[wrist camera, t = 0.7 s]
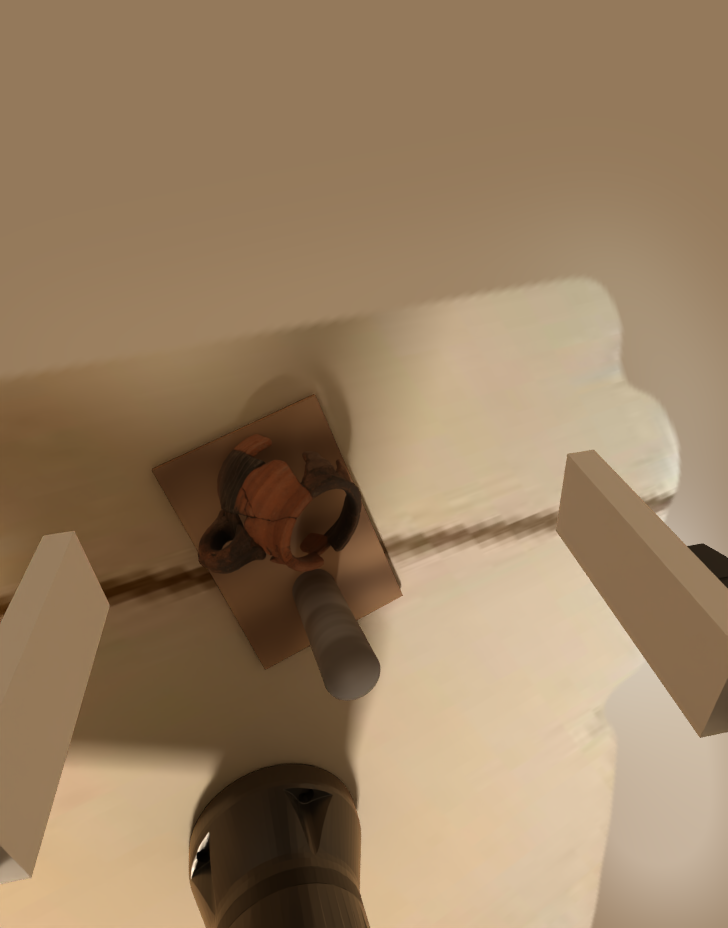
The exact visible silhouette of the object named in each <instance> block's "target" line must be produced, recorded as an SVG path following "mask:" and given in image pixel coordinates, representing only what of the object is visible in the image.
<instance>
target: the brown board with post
mask: <svg viewBox="0 0 728 928" xmlns="http://www.w3.org/2000/svg"><path fill="white" fill-rule="evenodd" d="M254 434H259V435H261V436H263V437H267V438H269V439H270V440H271V441H272V445H271V446H269V447H268V448H266V449H264V450H262V451H261V452H259V453H258V454H257V455H256V456H254V458H256V459H259V460H262V461H264V462H265V463H266V464H267V463H268V462H271V461H273V460H281V461H283V462H286V463H287V464H288V466H289V468H290V469H291V470H292V472H293V474H294V475H295V476H296V477H297V479H298V481H299V482H300V483H301V482H302V478H303V476H304V471H305V464H306V462H305V461H304V459H303V457H302V453H303V452H306V451H315V452H318V453H319V454H320V455H321V457H322V458H324V459H326V460H328V461H329V462H330V463H331V464H332V465H333V466H334V468H335V470H336V469H337V465H336V460H337V459H340V460H341V462H342V463H343V465H344V466H345V468H346V470H347V472H348V475H349V477H350V480H351V482H353V480H352V478H351V476H350V473H349V471H348V469H347V467H346V464H345V462H344V460H343V457H342V455H341V453H340V450H339V448H338V446H337V444H336V441H335V439H334V437H333V434H332V432H331V430H330V428H329V425H328V423H327V421H326V418H325V416H324V414H323V411H322V409H321V407H320V405H319V402H318V400H317V398H316V395H314V394H313V395H311V396H309V397H307V398H305V399H303V400H300V401H298V402H296V403H294V404H292V405H290V406H287V407H285V408H283V409H281V410H279V411H277V412H274V413H272V414H270V415H268V416H266V417H264V418H261V419H259V420H257V421H255V422H253V423H251V424H248V425H246V426H244V427H242V428H240V429H238V430H235V431H233V432H231V433H229V434H227V435H225V436H222V437H220V438H218V439H216V440H214V441H212V442H209V443H207V444H205V445H203V446H201V447H199V448H196V449H194V450H192V451H190V452H188V453H186V454H183V455H181V456H179V457H177V458H175V459H173V460H170V461H168V462H166V463H164V464H162V465H160V466H157V467H155V468H153V469H152V472H153V473H154V475H155V477H156V479H157V480H158V482H159V484H160V486H161V487H162V489H163V491H164V493H165V495H166V496H167V498H168V500H169V502H170V503H171V505H172V507H173V509H174V510H175V512H176V514H177V516H178V517H179V519H180V521H181V523H182V524H183V526H184V528H185V530H186V531H187V533H188V535H189V537H190V538H191V540H192V542H193V544H194V546H195V547H196V549H197V551H198V549H199V542H200V539H201V537H202V535H203V534H204V532H205V531H206V530H207V528H208V527H210V525H211V524H212V523H213V522H214V521H215V519H216V518H217V517H218V515H219V512H220V511H221V510H222V509H221V505H220V500H219V496H218V492H217V478H218V474H219V471H220V469H221V466H222V464H223V462H224V460H225V459H226V458H227V456H228V455H229V453H230V452H231V451H232V450H233V449H234V448H235V447H236V446H237V445H238V444H239V443H241V442H242V441H243V440H245V439H246V438H248V437H250V436H252V435H254ZM345 496H346V493H345V491H344V490H342V489H332V490H328V491H326V492H324V493H322V494H320V495H319V496H317V497H315V498H314V499H313V500H312V501H311V502H310V503H309V504H308V505H307V506H306V508H305V509H304V510H303V511H302V513H301V514H300V516H299V517H298V518H297V520H296V523H295V525H294V528H293V531H292V534H291V541H290V548H291V552H292V555H294V556H295V557H297V558H299V557H302V556H305V555H307V554H308V553H306V552H302V550H301V549H300V544H301V543H302V541H303V540H304V539H305V538H306V536H307V535H308V534H310V533H317V534H322V535H324V534H325V533H326V532H327V531H328V530H329V529H330V528H331V527H332V526H333V525H334V523H335V522H336V521H337V519H338V518H339V516H340V514H341V511H342V508H343V504H344V500H345ZM361 502H362V501H361ZM238 515H239V517H240V519H241V521H242V523H243V526H244V521H245V519H246V516H243V515H240V514H238ZM231 542H232V541H229V542H227V543H226V544H225V545H224V546H223V548H222V549H224V548H225V547H227V546H228V545H229V544H230V543H231ZM265 553H266V552H265ZM271 557H272V555H271V556H270V555H269V554H267V553H266V558H265V559H263V560H255V561H252V562H250V563H248V564H246V565H244V566H243V567H241V568H240V569H239V570H236V571H234V572H232V573H228V574H218V573H214V572H212V571H211V570H210V569H209V568H208V570H209V572H210V574H211V575H212V577H213V579H214V581H215V582H216V584H217V586H218V588H219V589H220V591H221V593H222V595H223V597H224V598H225V600H226V602H227V604H228V605H229V607H230V609H231V611H232V612H233V614H234V616H235V618H236V619H237V621H238V623H239V625H240V626H241V628H242V630H243V632H244V633H245V635H246V637H247V639H248V640H249V642H250V644H251V646H252V647H253V649H254V651H255V653H256V655H257V656H258V658H259V660H260V662H261V663H262V665H263V667H264V669H265V670H266V669H268V668H269V667H271V666H273V665H275V664H277V663H279V662H280V661H282V660H284V659H286V658H288V657H290V656H292V655H293V654H295V653H297V652H299V651H301V650H303V649H305V648H306V647H308V646H310V645H311V648H312V651H313V653H314V656H315V659H316V662H317V664H318V667H319V670H320V673H321V676H322V678H323V681H324V684H325V687H326V689H327V691H328V692H329V693H330V694H331V695H332V696H333V697H335V698H337V699H340V700H354V699H358V698H360V697H362V696H364V695H366V694H367V693H368V692H370V691H371V690H372V689H373V687H374V686H375V685H376V683H377V681H378V679H379V676H380V664H379V661H378V659H377V657H376V655H375V653H374V652H373V650H372V648H371V646H370V644H369V642H368V641H367V639H366V637H365V635H364V633H363V631H362V630H361V628H360V626H359V624H358V622H357V620H358V619H360V618H362V617H364V616H366V615H368V614H369V613H371V612H373V611H375V610H377V609H379V608H380V607H382V606H384V605H386V604H388V603H390V602H392V601H393V600H395V599H397V598H399V597H401V596H403V595H402V593H401V590H400V588H399V586H398V583H397V581H396V579H395V577H394V574H393V572H392V570H391V567H390V565H389V563H388V560H387V558H386V556H385V554H384V551H383V549H382V547H381V544H380V542H379V540H378V538H377V535H376V533H375V531H374V528H373V526H372V524H371V522H370V519H369V517H368V515H367V512H366V510H365V508H364V505H363V503H362V507H361V512H360V518H359V522H358V525H357V528H356V530H355V532H354V534H353V535H352V537H351V539H350V541H349V542H348V544H347V545H346V546H345V547H344V549H342V550H341V551H338V552H336V551H335V550H334V549H333V548H332V546H330V547H329V548H328V549H327V550H326V551H325V552H324V553H323V554H321V555H320V557H322V558H323V559H324V565H322V566H321V567H319V568H317V569H314V570H311V571H306V572H305V571H303V572H299V571H295V570H293V569H291V568H289V567H288V566H287V565H283V564H277V563H274V562H272V561H270V558H271Z"/></svg>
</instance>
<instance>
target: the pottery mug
mask: <svg viewBox="0 0 728 928" xmlns="http://www.w3.org/2000/svg"><path fill="white" fill-rule="evenodd" d="M271 445H272V441H271V440H270V439H269V438H267V437H263V436H261V435H259V434H254V435H252V436H250V437H248V438H246V439H245V440H243V441H242V442H241V443H239V444H238V445H237V446H236V447H235V448H234V449H233V450H232V451H231V452H230V453H229V455H228V456H227V458H226V459H225V460H224V462H223V464H222V466H221V469H220V471H219V474H218V478H217V492H218V496H219V500H220V505H221V509H222V510H221V511H220V512H219V515H218V517H217V518H216V519H215V521H214V522H213V523H212V524H211V525H210V527H208V528H207V530H206V531H205V532H204V534H203V535H202V537H201V539H200V542H199V549H198V557H199V562H200V564H201V565H202V566H203V567H206V568H209V569H210V570H211V571H212V572H214V573H218V574H228V573H232V572H234V571H236V570H239V569H240V568H241V567H243V566H244V565H246V564H248V563H250V562H252V561H255V560H263V559H265V558H266V553H267V554H269V555H270V556H271V555H272V557H271V558H270V561H272V562H274V563H277V564H283V565H287V566H288V567H289V568H291V569H293V570H295V571H299V572H303V571H305V572H306V571H311V570H314V569H317V568H319V567H321V566H322V565H324V559H323V558H322V557H320V555H321V554H323V553H324V552H325V551H326V550H327V549H328V548H329V547H330V546H332V548H333V549H334V550H335V551H336V552H338V551H341V550H342V549H344V547H345V546H346V545H347V544H348V542H349V541H350V539H351V537H352V535H353V534H354V532H355V530H356V528H357V525H358V522H359V518H360V512H361V507H362V502H361V494H360V492H359V489H358V488H357V487H356V486H355V484H354V483H353V482H351V480H350V477H349V475H348V472H347V470H346V468H345V466H344V465H343V463H342V462H341V460H340V459H337V460H336V465H337V469H336V470H335V468H334V466H333V465H332V464H331V463H330V462H329V461H328V460H326V459H324V458H322V457H321V455H320V454H319V453H318V452H315V451H306V452H303V453H302V457H303V459H304V461H305V462H306V464H305V471H304V476H303V478H302V482H301V483H300V482H299V481H298V479H297V477H296V476H295V475H294V474H293V472H292V470H291V469H290V468H289V466H288V464H287V463H286V462H283V461H281V460H273V461H271V462H268V463H267V464H266V463H265V462H264V461H262V460H259V459H256V458H254V456H256V455H257V454H258V453H259V452H261V451H262V450H264V449H266V448H268V447H269V446H271ZM332 489H342V490H344V491H345V493H346V496H345V500H344V504H343V508H342V511H341V514H340V516H339V518H338V519H337V521H336V522H335V523H334V525H333V526H332V527H331V528H330V529H329V530H328V531H327V532H326V533H325V534H324V535H322V534H317V533H310V534H308V535H307V536H306V538H305V539H304V540H303V541H302V543H301V544H300V549H301V550H302V552H306V553H308V554H307V555H305V556H302V557H299V558H297V557H295V556H294V555H292V552H291V548H290V541H291V534H292V531H293V528H294V525H295V523H296V520H297V518H298V517H299V516H300V514H301V513H302V511H303V510H304V509H305V508H306V506H307V505H308V504H309V503H310V502H311V501H312V500H313V499H314V498H315V497H317V496H319V495H320V494H322V493H324V492H326V491H328V490H332ZM238 514H240V515H243V516H246V519H245V521H244V526H243V523H242V521H241V519H240V517H239V515H238ZM229 541H232V542H231V543H230V544H229V545H228V546H227V547H225V548H224V549H222V548H223V546H224V545H225V544H226V543H227V542H229ZM265 552H266V553H265Z"/></svg>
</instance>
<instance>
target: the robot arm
mask: <svg viewBox="0 0 728 928" xmlns="http://www.w3.org/2000/svg"><path fill="white" fill-rule="evenodd" d="M556 531H557V533H558V534H559V536H560V537H561V539H562V540H563V541H564V543H565V544H566V546H567V547H568V549H569V550H570V552H571V553H572V554H573V556H574V557H575V559H576V560H577V562H578V563H579V564H580V566H581V567H582V569H583V570H584V572H585V573H586V575H587V576H588V577H589V579H590V580H591V582H592V583H593V585H594V586H595V587H596V589H597V590H598V592H599V593H600V595H601V596H602V598H603V599H604V600H605V602H606V603H607V605H608V606H609V608H610V609H611V610H612V612H613V613H614V615H615V616H616V618H617V619H618V621H619V622H620V623H621V625H622V626H623V628H624V629H625V631H626V632H627V633H628V635H629V636H630V638H631V639H632V641H633V642H634V644H635V645H636V646H637V648H638V649H639V651H640V652H641V654H642V655H643V657H644V658H645V659H646V661H647V662H648V664H649V665H650V667H651V668H652V669H653V671H654V672H655V673H656V675H657V677H658V678H659V679H660V681H661V682H662V684H663V685H664V687H665V688H666V690H667V691H668V692H669V694H670V695H671V697H672V698H673V700H674V701H675V703H676V704H677V705H678V707H679V708H680V710H681V711H682V713H683V714H684V715H685V717H686V718H687V720H688V721H689V723H690V724H691V726H692V727H693V728H694V730H695V731H696V733H697V734H698V736H699V737H700V738H701V737H706V736H711V735H716V734H720V733H724V732H728V558H727V557H726V556H724V555H722V554H721V553H719V552H717V551H715V550H714V549H712V548H710V547H708V546H707V545H705V544H697V545H692V546H686V545H685V544H684V543H683V542H682V541H681V540H680V539H679V538H678V537H677V536H676V534H675V533H674V532H673V531H671V529H670V528H669V527H668V526H667V525H666V524H665V523H664V522H663V521H662V520H661V519H660V518H659V517H658V516H657V515H656V514H655V513H654V512H653V511H652V510H651V509H650V507H649V506H648V505H647V504H646V503H645V502H644V501H643V500H642V499H641V498H640V497H639V496H638V495H637V494H636V493H635V492H634V491H633V490H632V489H631V488H630V487H629V486H628V485H627V484H626V483H625V482H624V481H623V479H622V478H621V477H620V476H619V475H618V474H617V473H616V472H615V471H614V470H613V469H612V468H611V467H610V466H609V465H608V464H607V463H606V462H605V461H604V460H603V459H602V458H601V457H600V456H599V455H598V454H597V453H596V451H595V450H589V451H583V452H577V453H570V454H567V461H566V467H565V474H564V480H563V487H562V494H561V500H560V507H559V514H558V520H557V527H556ZM109 607H110V605H109V603H108V600H107V598H106V596H105V594H104V592H103V590H102V588H101V586H100V584H99V581H98V579H97V577H96V575H95V573H94V571H93V569H92V567H91V564H90V562H89V560H88V558H87V556H86V554H85V552H84V550H83V548H82V545H81V543H80V541H79V539H78V537H77V535H76V533H75V531H69V532H62V533H56V534H50V535H43V537H42V539H41V541H40V543H39V545H38V547H37V549H36V551H35V553H34V555H33V557H32V559H31V561H30V563H29V565H28V567H27V570H26V572H25V574H24V576H23V578H22V580H21V582H20V584H19V586H18V588H17V590H16V592H15V594H14V596H13V598H12V600H11V602H10V604H9V606H8V608H7V610H6V612H5V615H4V617H3V619H2V621H1V623H0V884H4V883H9V882H13V881H18V880H23V879H28V878H31V877H32V874H33V870H34V867H35V863H36V860H37V856H38V853H39V849H40V846H41V842H42V839H43V836H44V832H45V829H46V825H47V822H48V818H49V815H50V811H51V808H52V804H53V801H54V797H55V794H56V791H57V787H58V784H59V780H60V777H61V773H62V770H63V766H64V763H65V759H66V756H67V752H68V749H69V746H70V742H71V739H72V735H73V732H74V728H75V725H76V721H77V718H78V714H79V711H80V708H81V704H82V701H83V697H84V694H85V690H86V687H87V683H88V680H89V676H90V673H91V669H92V666H93V663H94V659H95V656H96V652H97V649H98V645H99V642H100V638H101V635H102V631H103V628H104V624H105V621H106V618H107V614H108V611H109ZM360 858H361V828H360V821H359V818H358V814H357V811H356V808H355V805H354V802H353V799H352V797H351V794H350V792H349V791H348V789H347V788H346V786H345V785H344V784H343V783H342V782H341V781H340V780H339V779H338V778H337V777H335V776H334V775H332V774H331V773H329V772H327V771H325V770H323V769H320V768H317V767H314V766H309V765H302V764H285V765H277V766H272V767H268V768H264V769H261V770H258V771H255V772H253V773H250V774H248V775H246V776H244V777H242V778H240V779H239V780H237V781H235V782H234V783H232V784H231V785H229V786H228V787H226V788H225V789H224V790H223V791H221V792H220V793H219V794H218V795H217V796H216V797H215V798H214V799H213V800H212V801H211V802H210V803H209V804H208V806H207V807H206V808H205V809H204V811H203V812H202V814H201V815H200V817H199V819H198V821H197V823H196V825H195V827H194V829H193V832H192V835H191V839H190V845H189V880H190V885H191V889H192V893H193V895H194V898H195V900H196V903H197V906H198V908H199V911H200V913H201V916H202V918H203V921H204V924H205V926H206V928H370V926H369V922H368V919H367V916H366V912H365V909H364V906H363V902H362V899H361V895H360Z"/></svg>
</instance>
